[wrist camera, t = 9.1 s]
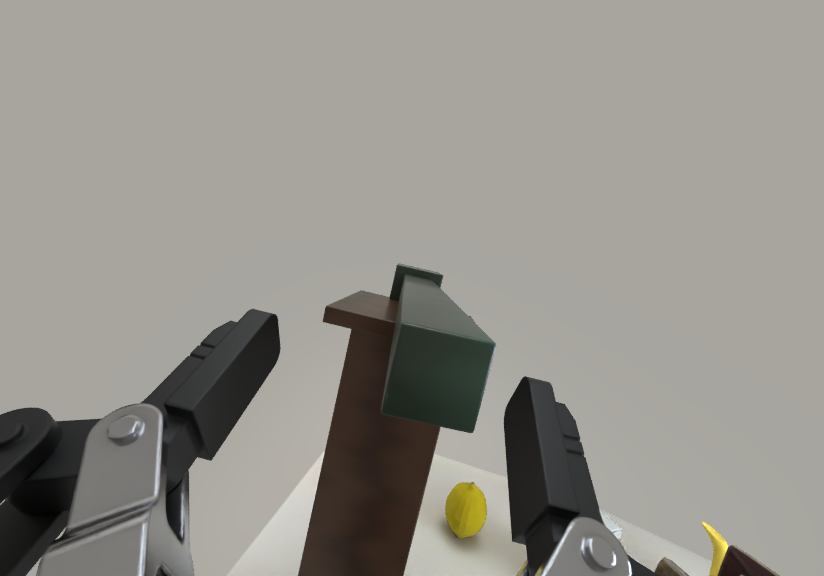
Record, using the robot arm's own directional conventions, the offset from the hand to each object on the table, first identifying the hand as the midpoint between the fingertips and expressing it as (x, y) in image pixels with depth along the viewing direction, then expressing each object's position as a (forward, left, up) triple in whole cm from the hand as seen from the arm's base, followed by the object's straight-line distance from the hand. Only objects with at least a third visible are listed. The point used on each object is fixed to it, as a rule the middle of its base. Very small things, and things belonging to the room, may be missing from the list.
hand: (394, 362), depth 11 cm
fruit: (+13, +33, -33) cm, 48 cm away
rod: (0, +9, -1) cm, 9 cm away
